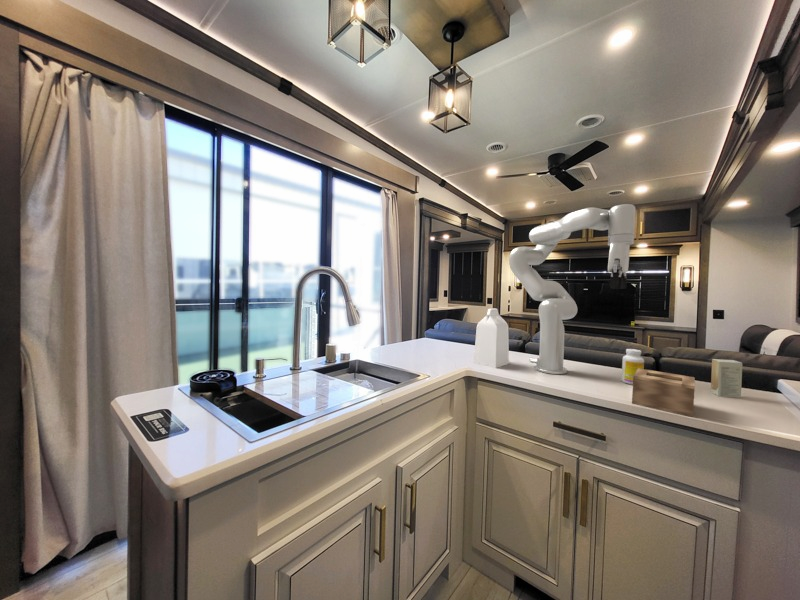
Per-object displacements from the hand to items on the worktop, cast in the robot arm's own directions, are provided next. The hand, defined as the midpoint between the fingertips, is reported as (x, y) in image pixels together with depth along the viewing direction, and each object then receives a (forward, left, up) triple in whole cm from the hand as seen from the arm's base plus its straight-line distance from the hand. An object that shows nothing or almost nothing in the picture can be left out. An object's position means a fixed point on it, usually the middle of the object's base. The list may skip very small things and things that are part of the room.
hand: (618, 288), depth 109 cm
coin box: (+14, -7, -36) cm, 40 cm away
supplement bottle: (+4, +13, -36) cm, 39 cm away
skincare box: (+29, +20, -36) cm, 51 cm away
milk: (-48, 0, -37) cm, 60 cm away
